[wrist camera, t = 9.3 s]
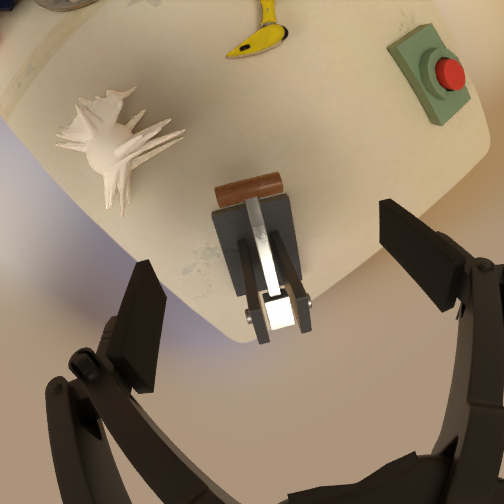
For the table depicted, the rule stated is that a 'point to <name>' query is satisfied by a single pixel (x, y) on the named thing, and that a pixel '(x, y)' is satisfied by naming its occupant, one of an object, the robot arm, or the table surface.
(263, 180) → the lever
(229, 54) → the twin pod spaceship
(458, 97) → the button box
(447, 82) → the button
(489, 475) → the robot arm
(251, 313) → the bracket
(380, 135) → the table surface
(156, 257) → the table surface
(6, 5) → the dark blue box
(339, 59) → the table surface
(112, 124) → the spiky ball
